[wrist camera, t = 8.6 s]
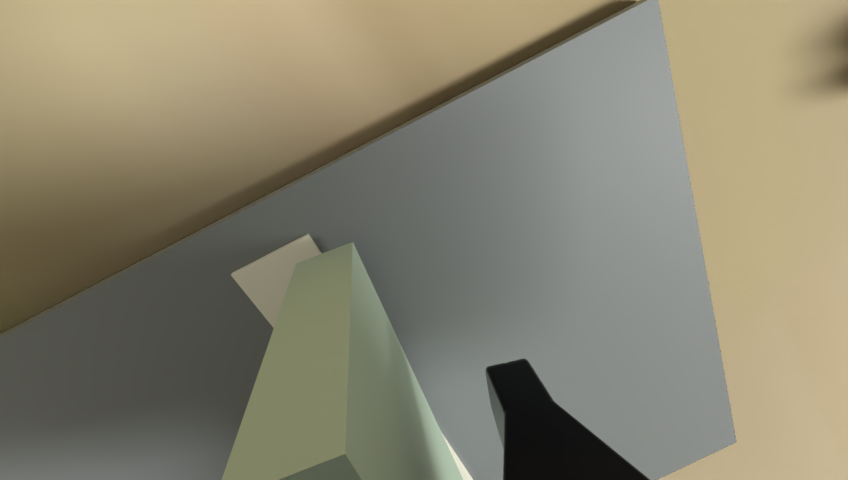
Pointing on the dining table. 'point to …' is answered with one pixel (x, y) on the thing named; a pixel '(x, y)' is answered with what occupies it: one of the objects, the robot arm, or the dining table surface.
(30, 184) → the dining table surface
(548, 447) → the robot arm
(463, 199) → the card
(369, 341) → the swing panel
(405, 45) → the dining table surface
